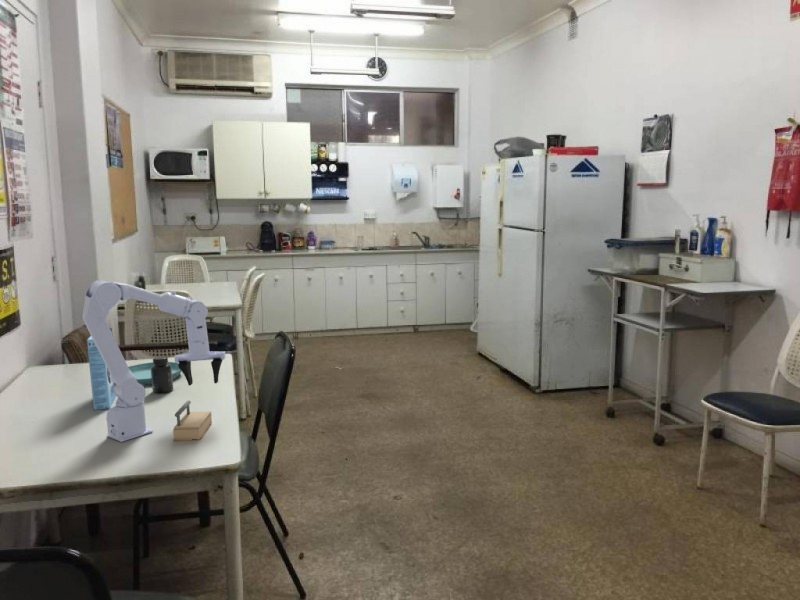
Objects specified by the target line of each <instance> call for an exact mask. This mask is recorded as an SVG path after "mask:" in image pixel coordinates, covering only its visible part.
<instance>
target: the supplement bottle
mask: <svg viewBox="0 0 800 600" xmlns="http://www.w3.org/2000/svg"><path fill="white" fill-rule="evenodd" d="M152 362H153V364H154V365H153V366H152V367H151V379H152V384H151V388H152V392H153V393H154V394H156V393H157V394H158V395H159V394H160V395H161V394H167V393H170V392H172V391H173V390H174V382H173V380H174V378H172V368H171V365H170V364H167V363H168V362H169V359H168V356H165V355H163V356H155V357H153V358H152Z"/></svg>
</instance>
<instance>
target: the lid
mask: <svg viewBox="0 0 800 600" xmlns="http://www.w3.org/2000/svg"><path fill="white" fill-rule="evenodd" d="M191 403H192V401H191V400H187V401H186V402H184V404H182V406H181V407H180V408H179V409H178V410H177V411H176V412H175V414H174V417H175V418H176V425H175V426H174V427H173V429H199V428H200V427H201V426H202V424H203V423H204V422H205V420H206V419H207V418H208V417H209V415H210V414H211V415H212V411H191V410H190V404H191ZM184 411H186V414H185V415H184V416H182V417H181V414H183V412H184Z"/></svg>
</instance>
